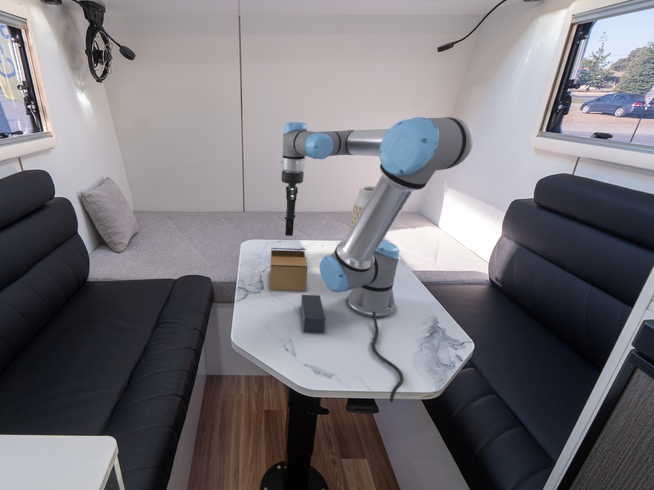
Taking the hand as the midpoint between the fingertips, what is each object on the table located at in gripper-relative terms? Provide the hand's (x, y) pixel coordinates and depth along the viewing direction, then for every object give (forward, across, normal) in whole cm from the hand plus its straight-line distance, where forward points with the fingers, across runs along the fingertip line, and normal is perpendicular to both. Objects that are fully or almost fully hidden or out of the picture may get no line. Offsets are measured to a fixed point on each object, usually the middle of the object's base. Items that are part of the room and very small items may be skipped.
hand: (289, 235), depth 138 cm
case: (+17, +30, +7) cm, 35 cm away
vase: (+18, -20, +33) cm, 43 cm away
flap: (+6, 0, 0) cm, 6 cm away
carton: (+17, +4, 0) cm, 18 cm away
